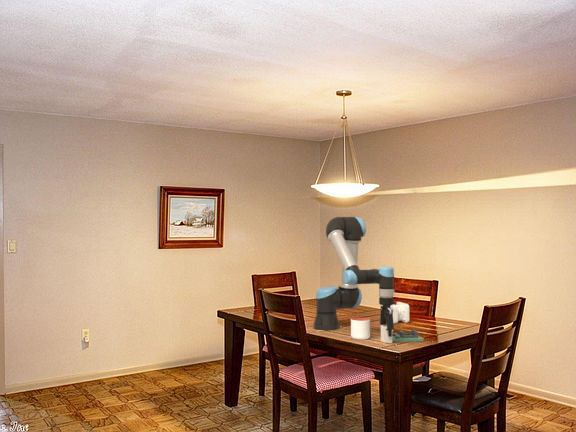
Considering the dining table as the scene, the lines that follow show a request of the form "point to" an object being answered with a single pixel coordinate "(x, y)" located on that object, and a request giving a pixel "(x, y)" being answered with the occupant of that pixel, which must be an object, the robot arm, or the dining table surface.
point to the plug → (384, 333)
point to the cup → (360, 328)
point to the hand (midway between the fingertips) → (386, 340)
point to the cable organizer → (400, 312)
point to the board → (406, 336)
